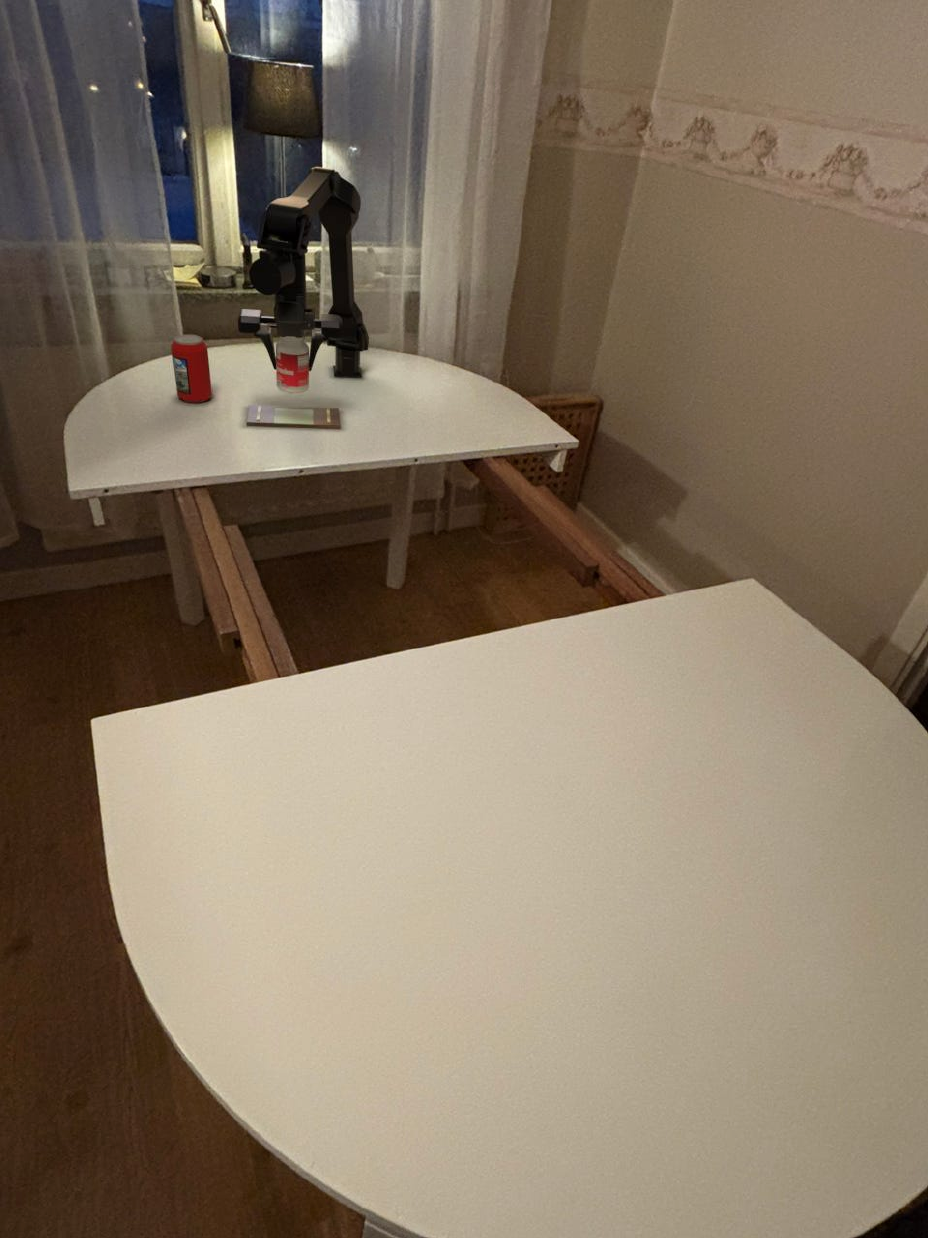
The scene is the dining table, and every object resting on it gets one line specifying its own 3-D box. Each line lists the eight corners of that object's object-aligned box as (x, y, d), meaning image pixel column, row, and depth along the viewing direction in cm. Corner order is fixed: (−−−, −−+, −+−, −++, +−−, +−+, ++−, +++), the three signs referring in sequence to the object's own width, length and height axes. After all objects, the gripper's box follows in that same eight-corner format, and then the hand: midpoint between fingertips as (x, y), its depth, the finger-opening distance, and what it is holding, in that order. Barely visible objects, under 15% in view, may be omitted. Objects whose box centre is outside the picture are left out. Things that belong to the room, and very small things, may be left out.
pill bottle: (270, 386, 144) (268, 327, 137) (294, 380, 148) (293, 323, 141) (291, 396, 141) (290, 337, 134) (315, 390, 145) (315, 332, 138)
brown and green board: (249, 408, 150) (248, 403, 150) (338, 411, 154) (338, 407, 153) (246, 426, 143) (246, 421, 143) (340, 429, 147) (340, 424, 146)
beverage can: (175, 393, 153) (167, 333, 146) (209, 391, 155) (203, 332, 148) (180, 405, 148) (172, 344, 141) (215, 403, 151) (209, 343, 144)
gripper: (232, 291, 125) (239, 382, 134) (344, 298, 128) (343, 386, 138) (237, 275, 133) (243, 362, 143) (341, 282, 137) (341, 366, 146)
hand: (292, 369), depth 142 cm, fingers closed on pill bottle, 6 cm apart
